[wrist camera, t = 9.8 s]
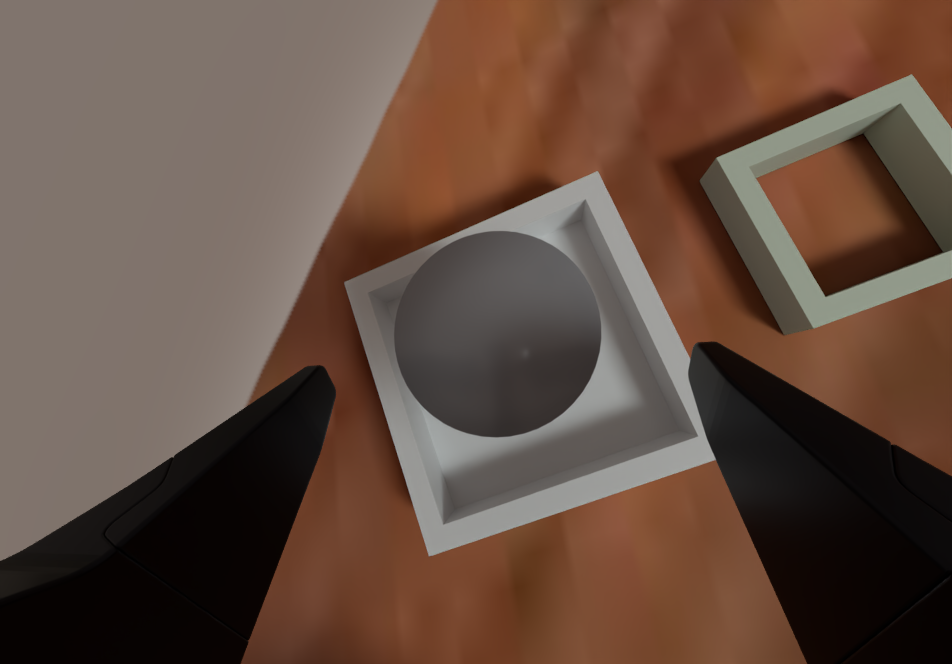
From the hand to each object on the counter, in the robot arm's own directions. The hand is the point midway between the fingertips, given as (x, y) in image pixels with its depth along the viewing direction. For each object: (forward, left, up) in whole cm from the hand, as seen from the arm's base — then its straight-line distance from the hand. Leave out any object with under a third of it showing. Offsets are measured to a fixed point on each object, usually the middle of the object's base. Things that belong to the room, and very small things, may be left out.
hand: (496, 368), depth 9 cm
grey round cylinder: (+1, 0, -10) cm, 10 cm away
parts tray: (+1, 0, -10) cm, 11 cm away
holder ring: (+2, -16, -10) cm, 19 cm away
